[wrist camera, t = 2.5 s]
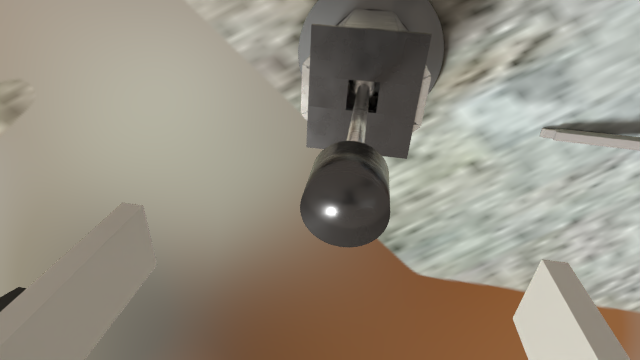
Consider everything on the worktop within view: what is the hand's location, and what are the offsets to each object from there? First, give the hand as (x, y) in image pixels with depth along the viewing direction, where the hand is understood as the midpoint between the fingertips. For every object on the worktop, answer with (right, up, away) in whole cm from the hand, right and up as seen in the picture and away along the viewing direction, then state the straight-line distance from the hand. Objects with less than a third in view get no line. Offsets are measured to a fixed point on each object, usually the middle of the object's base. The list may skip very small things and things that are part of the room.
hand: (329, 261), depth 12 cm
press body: (+5, +15, +29) cm, 33 cm away
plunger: (+3, +10, +17) cm, 20 cm away
